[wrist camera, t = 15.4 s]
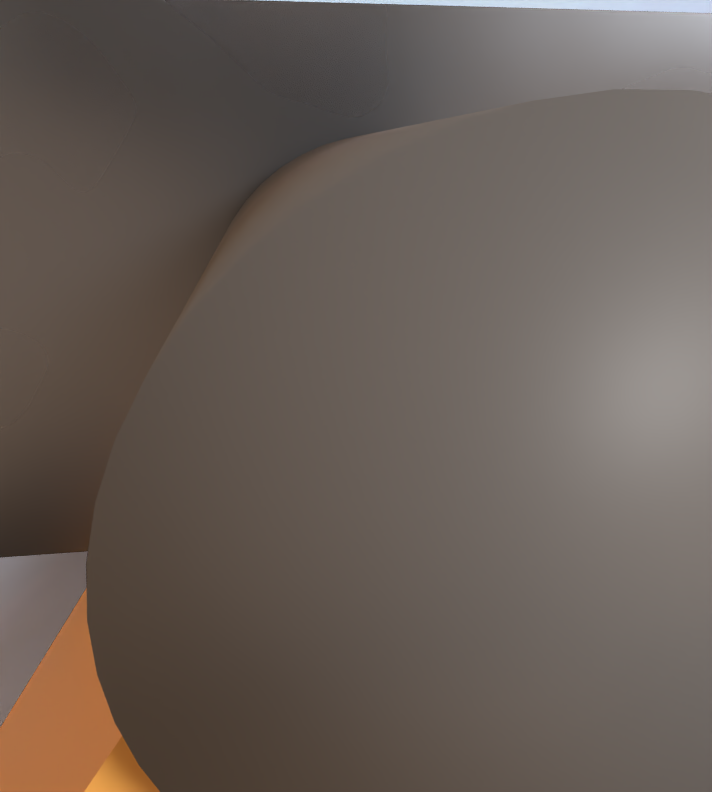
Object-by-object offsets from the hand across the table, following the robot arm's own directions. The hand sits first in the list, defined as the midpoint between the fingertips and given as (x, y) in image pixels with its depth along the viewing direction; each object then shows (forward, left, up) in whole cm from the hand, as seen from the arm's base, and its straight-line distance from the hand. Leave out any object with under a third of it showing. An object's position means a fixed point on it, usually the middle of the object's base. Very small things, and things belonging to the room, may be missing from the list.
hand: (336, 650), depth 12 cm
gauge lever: (-6, -1, +5) cm, 8 cm away
